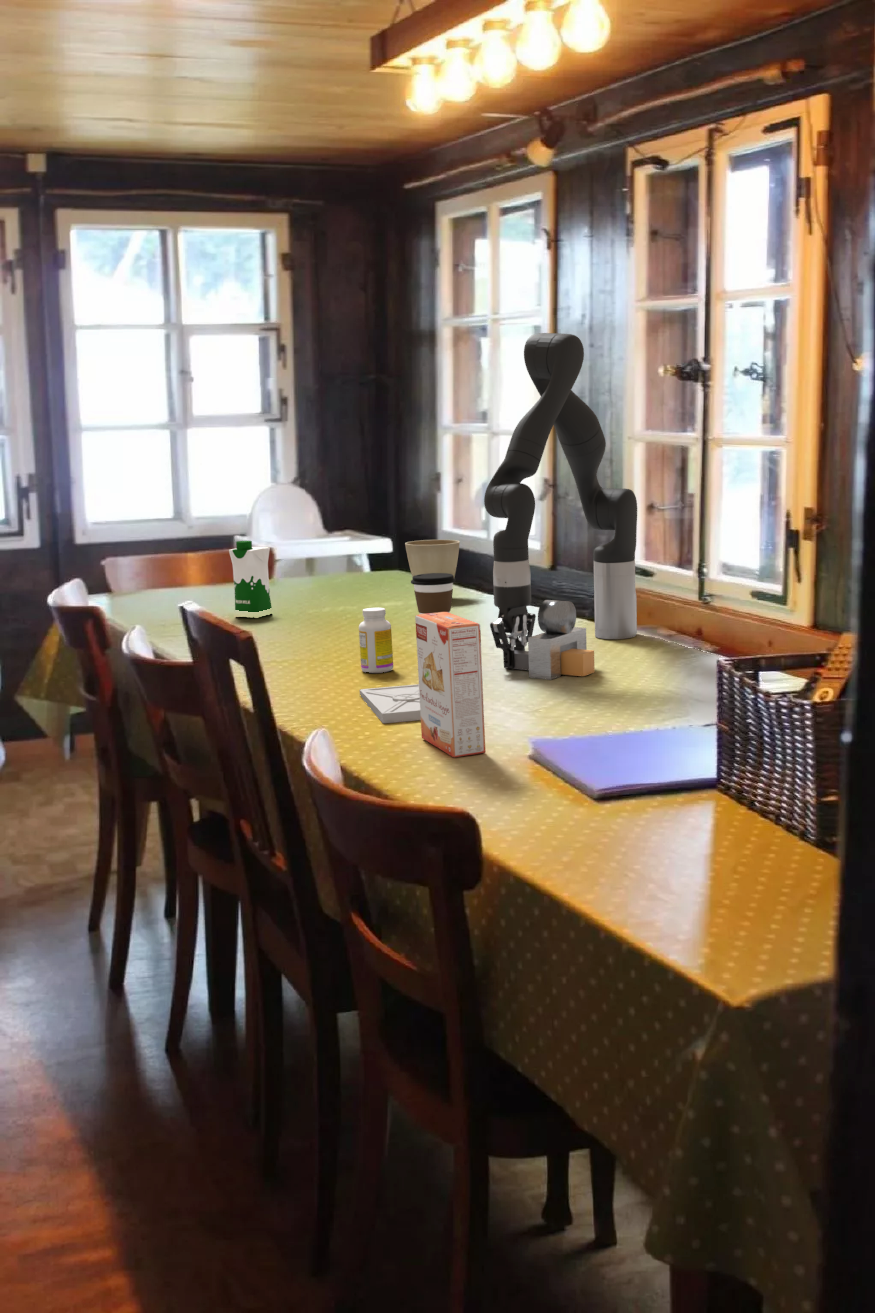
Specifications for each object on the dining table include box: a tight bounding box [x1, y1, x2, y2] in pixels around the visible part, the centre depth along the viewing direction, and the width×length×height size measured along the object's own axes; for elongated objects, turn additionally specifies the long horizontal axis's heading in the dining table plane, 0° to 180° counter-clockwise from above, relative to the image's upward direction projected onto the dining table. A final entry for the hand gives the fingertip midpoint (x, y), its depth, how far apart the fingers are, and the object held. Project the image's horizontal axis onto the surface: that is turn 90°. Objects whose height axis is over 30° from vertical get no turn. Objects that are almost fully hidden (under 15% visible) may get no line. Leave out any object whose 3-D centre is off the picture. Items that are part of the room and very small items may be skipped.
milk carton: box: [228, 540, 273, 612], centre depth 363 cm, size 9×9×20 cm
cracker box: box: [414, 612, 486, 758], centre depth 220 cm, size 14×6×21 cm, turn 22°
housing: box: [527, 599, 588, 681], centre depth 276 cm, size 14×5×14 cm, turn 144°
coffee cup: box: [410, 573, 457, 615], centre depth 340 cm, size 11×11×12 cm
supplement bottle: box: [358, 607, 394, 674], centre depth 285 cm, size 7×7×13 cm
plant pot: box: [404, 539, 461, 577], centre depth 379 cm, size 15×15×16 cm
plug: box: [503, 649, 596, 677], centre depth 278 cm, size 19×4×4 cm, turn 54°
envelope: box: [359, 683, 421, 724], centre depth 253 cm, size 24×2×14 cm
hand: (514, 665), depth 283 cm, fingers closed on plug, 3 cm apart
